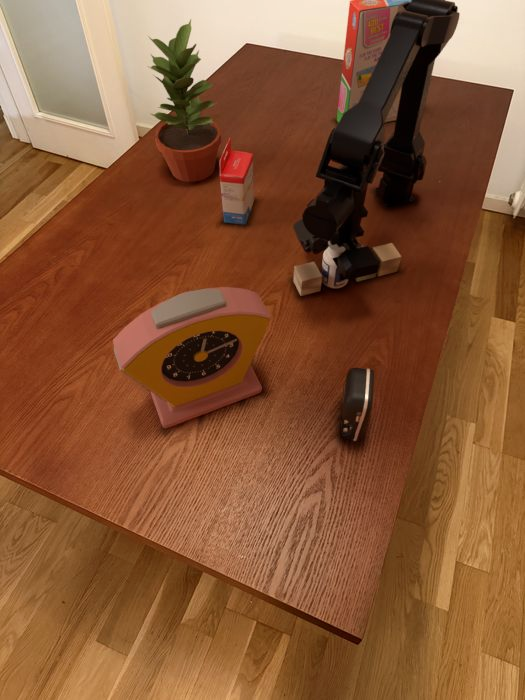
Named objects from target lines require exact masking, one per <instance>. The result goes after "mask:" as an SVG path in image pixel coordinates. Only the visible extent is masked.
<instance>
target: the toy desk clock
mask: <svg viewBox="0 0 525 700" xmlns="http://www.w3.org/2000/svg"><path fill="white" fill-rule="evenodd" d="M271 320H272V316H271V314H270V313H269V311H268V309H267V307H266V306H265V304H264V302H263V301H262V298H261V297H260V295H259V293H258V292H257V291H253V290H249V289H246V288H242V287H241V288H240V287H234V286H233V287H232V286H219V287H217V286H216V287H206V288H202V289H195V290H189V291H185V292H182V293H180V294H177V295H174V296H173V297H170V298H168V299H166V300H163V301H161V302H159V303H157V304H155V305H154V306H152V307H150V308H149V309H147V310H145V311H143V312H142V313H140V314H139V315H138V316H137V317H135V319H134V318H133V320H132V321H130V322H129V323H128V324H127V325H126V326H125V327H123V328H122V329H121V331H120V332H119V333H118V334H117V335H116V336H115V337H114V338H113V339H112V344H113V353H114V356H115V358H116V359H115V360H116V362H117V366H118V368H119V371H121V372H122V373H123V374H125V375H126V376H128V378H131V379H132V380H133V381H135V382H136V383H137V384H139V385H141V386H143V388H145V389H146V390H147V391H149V393H150V395H151V398H152V401H153V404H154V406H155V409H156V412H157V415H158V417H159V421H160V424H161V427H162V428H164V429H169V428H171V427H173V426H176V425H179V424H181V423H185V422H187V421H189V420H192V419H194V418H197V417H200V416H203V415H205V414H208V413H211V412H214V411H216V410H218V409H221V408H223V407H226V406H229V405H231V404H234V403H237V402H239V401H242V400H245V399H247V398H250V397H253V396H255V395H258V394H260V393H261V392H262V391H263V386H262V384H261V381H259V378H258V376H257V374H256V373H255V370H254V368H253V367H252V364H251V363H252V361H253V359H254V356H255V354H256V352H257V350H258V348H259V346H260V343H261V341H262V340H263V337H264V334H265V332H266V331H267V328H268V327H269V324H270V322H271Z"/></svg>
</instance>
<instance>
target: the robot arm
mask: <svg viewBox="0 0 525 700" xmlns="http://www.w3.org/2000/svg"><path fill="white" fill-rule="evenodd" d="M458 9H459V7H458V6H457V5H456V2H454V1H449V0H412V1H411V2H408V1H407V2H404V3H402V4H399V6H398V11H397V14H396V15H395V17H394V20H393V22H392V26H391V30H390V37H389V39H388V41H387V43H386V45H385V47H384V49H383V51H382V54H381V56H380V58H379V60H378V62H377V64H376V66H375V69H374V71H373V73H372V75H371V77H370V79H369V81H368V83H367V86H366V88H365V90H364V92H363V94H362V96H361V98H360V100H359V102H358V103H357V104H356V105H355V106H353V107H352V108H350V109H349V110H347V111H346V112H345V113H344V114H343V116H342V117H341V119H340V121H339V123H338V122H337V124H336V126H334V128H333V129H331V132H330V133H329V136H328V139H327V141H326V144H325V146H324V150H323V153H322V156H321V159H320V162H319V164H318V167H317V171H316V173H315V177H316V178H318V179H320V180H324V182H323V188H322V189H321V190H320V191H319V192H318V194H317V195H316V196H315V198H313V199H311V200H310V201H309V202H308V204H307V205H306V208H305V209H304V211H303V213H302V215H301V216H302V217H301V219H300V220H298V221H296V222H295V223H294V224H293V226H292V229H293V230H294V232H295V235H296V238H297V240H298V242H299V243H300V246H301V247H302V249H303V251H304V252H305V253H312V254H313V255H318V254H320V253H322V252H324V251H325V250H326V249H327V248H328V247H329V244H328V242H329V241H330V243H331V245H335V244H337V246H338V247H343V246H344V248H345V250H344V252H343V253H342V254H341V255H340V256H338V257H335V258H332V259H333V261H334V262H335V264H336V266H337V268H338V269H339V280H340V281H343V280H346V279H348V281H350V280H351V281H352V280H355V278H359V277H363V276H367V275H371V274H375V273H376V274H377V272H378V270H379V266H380V260H379V259H378V257H377V256H376V254H375V253H374V251H373V247H370V246H369V245H364V244H360V243H359V242H358V240H357V238H360V237H363V236H364V235H365V234H364V233H365V230H364V229H363V227H362V225H361V223H362V219H363V218H367V217H368V215H369V211H368V210H367V208H366V207H365V203H366V197H367V192H368V186H369V184H371V185H372V184H373V182H374V180H375V177H376V175H377V173H378V172H379V173H382V177H381V178H380V180H379V184H378V187H376V188H375V193H376V194H377V195H378V197H379V198H380V199H381V201H382V202H383V203H384V205H385V206H386V207H387V208H393V207H399V206H402V205H403V206H404V205H407V204H411V203H414V202H415V198H414V197H413V195H412V193H413V190H414V187H415V184H417V182H419V181H423V178H424V176H425V173H426V165H427V163H428V162H427V159H426V156H425V155H424V150H425V145H426V142H425V140H424V138H423V135H422V133H421V131H420V129H421V126H422V122H423V121H422V120H423V115H424V113H425V112H424V111H425V107H426V102H427V97H428V93H429V89H430V84H431V81H432V80H431V79H432V75H433V71H434V66H435V63H436V62H435V61H436V59H437V58H438V57H439V56H440V54H441V53H442V51H443V50H444V48H445V47H446V46H447V45H448V44H449V42H450V40H451V39H452V38H453V36H454V34H455V32H456V29H457V27H458V25H459V20H460V12H458V11H459V10H458ZM401 86H402V89H401V95H400V101H399V106H398V112H397V118H396V120H395V125H394V130H393V132H392V133H391V134H390V136H389V137H388V139H387V140H386V129H385V120H386V118H387V115H388V113H389V111H390V109H391V107H392V105H393V103H394V101H395V99H396V96H397V94H398V92H399V90H400V88H401ZM331 162H334V163H335V164H338V165H339V166H338V167H335V166H332V165H330V163H331Z"/></svg>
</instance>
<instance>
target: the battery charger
mask: <svg viewBox="0 0 525 700" xmlns="http://www.w3.org/2000/svg"><path fill="white" fill-rule="evenodd" d="M374 387H375V371H374V370H373V369H370V368H362V367H352V368H350V369H348V371H347V373H346V375H345V379H344V382H343V388H342V396H341V397H342V399H341V406H340V414H341V423H340V424H341V425H340V435H341V437H342V438H344V439H346V440H349V441H353V442H360V441H361V440H362V438H363V434H364V432H365V428H366V426H367V423H368V420H369V418H370V414H371V411H372V407H373V402H374V401H373V400H374Z"/></svg>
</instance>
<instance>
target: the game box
mask: <svg viewBox="0 0 525 700" xmlns="http://www.w3.org/2000/svg"><path fill="white" fill-rule="evenodd" d="M407 1H408V2H411V1H412V0H349V5H348V15H347V23H346V31H345V32H346V33H345V41H344V49H343V50H344V51H343V60H342V70H341V78H340V88H339V97H338V105H337V115H336V122H337V124H338V123H339V121H340V119H341V117H342V116H343V114H344V113H345V112H346V111H347V110H349V109H350V108H352V107H353V106H355V105H356V104H357V103H358V102H359V100H360V98H361V96H362V94H363V92H364V90H365V88H366V86H367V83H368V81H369V79H370V77H371V75H372V73H373V71H374V69H375V66H376V64H377V62H378V60H379V58H380V56H381V54H382V51H383V49H384V47H385V45H386V43H387V41H388V39H389V37H390V30H391V26H392V22H393V20H394V17H395V15H396V14H397V11H398V6H399V4H402V3H404V2H407ZM401 89H402V86H401V88H400V90H399V92H398V94H397V96H396V99H395V101H394V103H393V105H392V107H391V109H390V111H389V113H388V115H387V118H386V120H385V123H386V124H387V123H390V122H396V118H397V112H398V106H399V101H400V95H401ZM385 123H384V124H385Z"/></svg>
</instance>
